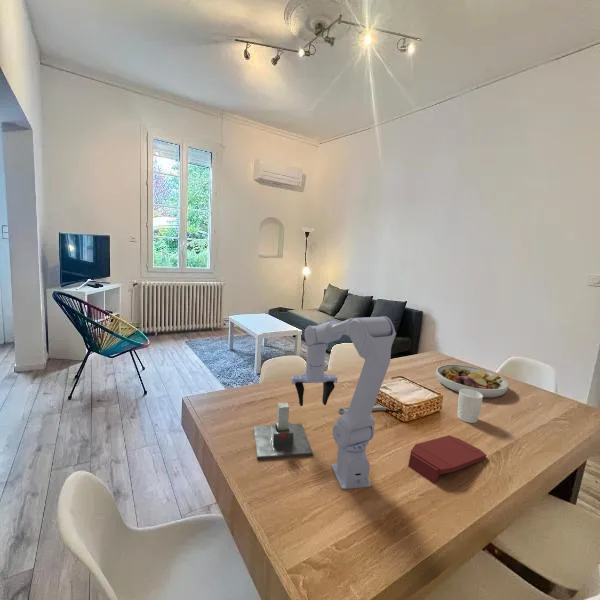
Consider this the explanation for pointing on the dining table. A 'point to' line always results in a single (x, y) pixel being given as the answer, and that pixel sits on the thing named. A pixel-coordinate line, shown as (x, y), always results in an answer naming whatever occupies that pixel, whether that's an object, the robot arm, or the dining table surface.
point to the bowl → (471, 380)
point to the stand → (281, 442)
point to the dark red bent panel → (443, 457)
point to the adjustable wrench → (375, 408)
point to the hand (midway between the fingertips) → (312, 404)
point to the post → (282, 417)
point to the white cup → (469, 405)
